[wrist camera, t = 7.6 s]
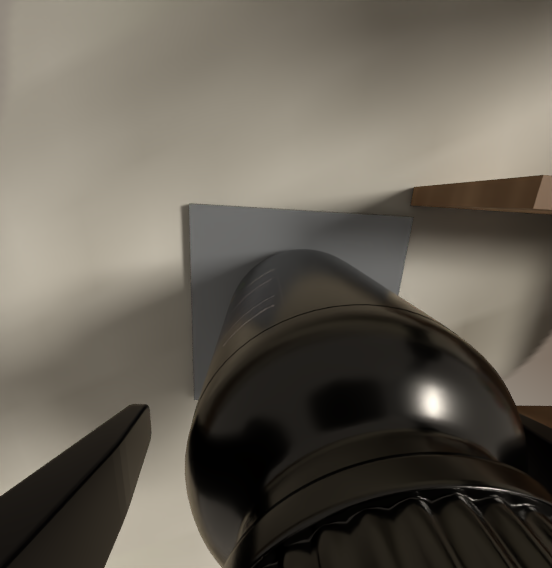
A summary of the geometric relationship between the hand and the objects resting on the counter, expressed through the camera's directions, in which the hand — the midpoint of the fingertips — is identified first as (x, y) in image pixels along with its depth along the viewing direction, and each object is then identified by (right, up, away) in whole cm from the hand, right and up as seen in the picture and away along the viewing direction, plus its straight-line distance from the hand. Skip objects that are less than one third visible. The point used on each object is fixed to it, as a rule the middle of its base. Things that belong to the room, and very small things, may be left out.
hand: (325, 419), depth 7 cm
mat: (0, +2, +7) cm, 7 cm away
